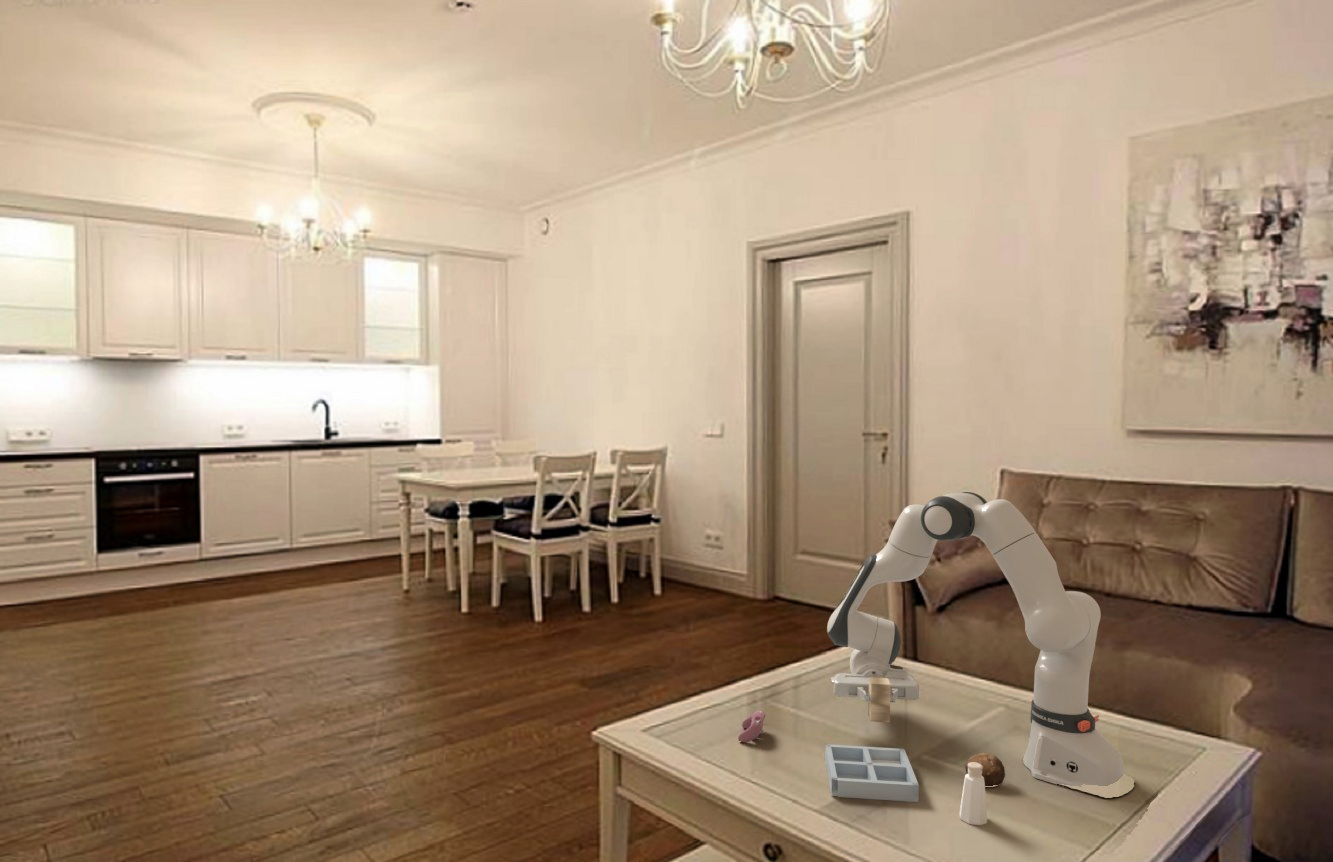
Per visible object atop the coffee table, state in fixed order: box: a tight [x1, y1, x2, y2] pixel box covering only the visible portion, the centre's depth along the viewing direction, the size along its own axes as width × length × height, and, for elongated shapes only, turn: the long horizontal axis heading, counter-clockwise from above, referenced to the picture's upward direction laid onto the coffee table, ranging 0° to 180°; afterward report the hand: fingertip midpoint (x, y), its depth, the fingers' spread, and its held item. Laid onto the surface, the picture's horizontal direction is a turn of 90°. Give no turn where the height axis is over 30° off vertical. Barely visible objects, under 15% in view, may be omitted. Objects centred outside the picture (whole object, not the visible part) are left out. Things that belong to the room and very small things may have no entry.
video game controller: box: [737, 709, 766, 743], centre depth 207 cm, size 10×5×7 cm, turn 169°
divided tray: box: [824, 743, 920, 803], centre depth 185 cm, size 18×18×4 cm
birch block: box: [867, 677, 891, 723], centre depth 202 cm, size 4×4×9 cm
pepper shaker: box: [959, 762, 988, 826], centre depth 169 cm, size 5×5×11 cm
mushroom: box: [964, 752, 1006, 786], centre depth 185 cm, size 8×8×6 cm
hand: (879, 698), depth 201 cm, fingers closed on birch block, 4 cm apart
